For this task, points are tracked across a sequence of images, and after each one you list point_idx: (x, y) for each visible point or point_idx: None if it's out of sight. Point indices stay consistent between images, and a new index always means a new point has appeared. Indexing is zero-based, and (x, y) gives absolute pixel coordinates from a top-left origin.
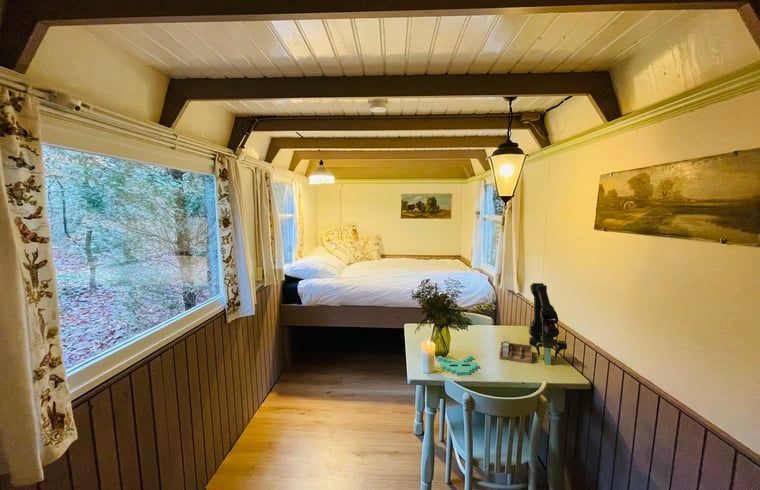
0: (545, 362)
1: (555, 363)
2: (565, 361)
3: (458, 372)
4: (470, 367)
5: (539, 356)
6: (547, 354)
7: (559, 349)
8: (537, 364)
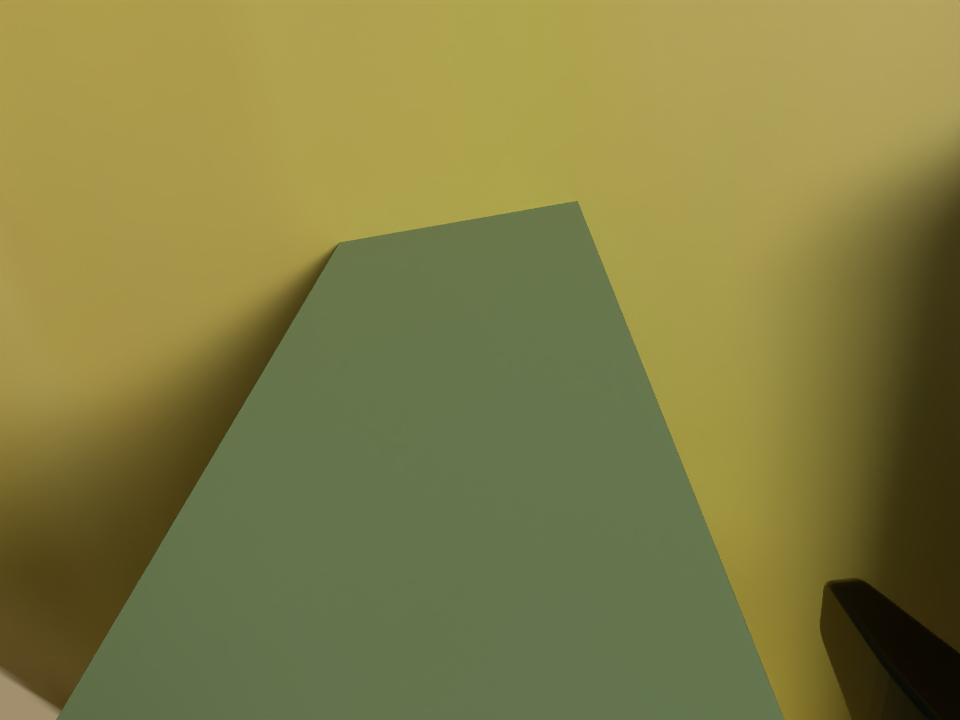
0: (553, 244)
1: None
2: None
3: None
4: None
5: (850, 587)
6: (431, 634)
7: None
8: (906, 17)
